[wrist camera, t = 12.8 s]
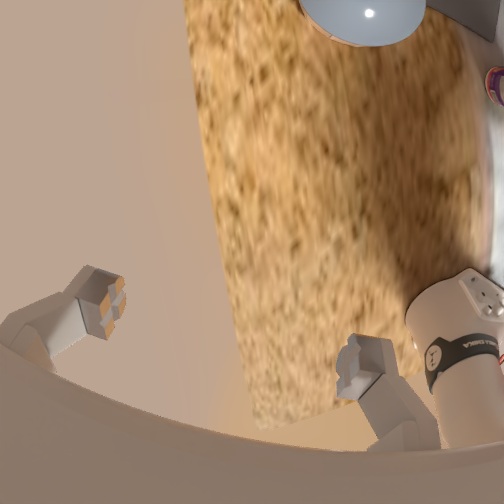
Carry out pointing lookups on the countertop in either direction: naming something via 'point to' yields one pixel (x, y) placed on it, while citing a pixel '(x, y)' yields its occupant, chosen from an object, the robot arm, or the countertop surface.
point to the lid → (367, 19)
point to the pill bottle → (495, 85)
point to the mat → (471, 14)
